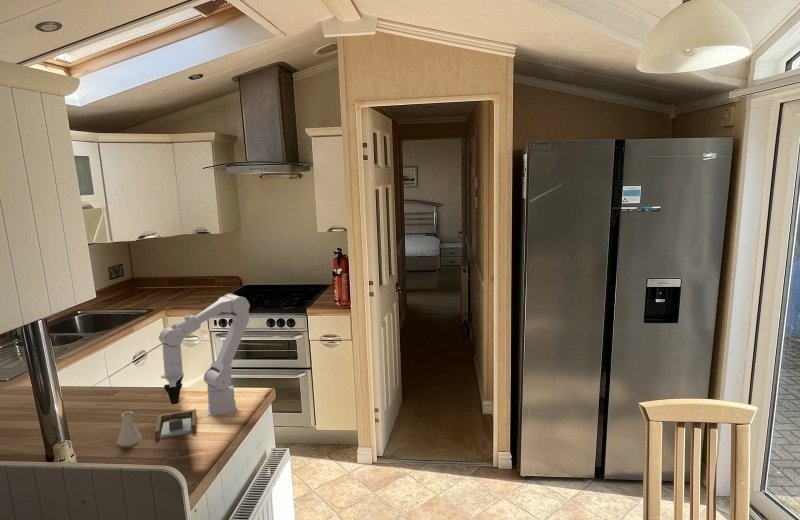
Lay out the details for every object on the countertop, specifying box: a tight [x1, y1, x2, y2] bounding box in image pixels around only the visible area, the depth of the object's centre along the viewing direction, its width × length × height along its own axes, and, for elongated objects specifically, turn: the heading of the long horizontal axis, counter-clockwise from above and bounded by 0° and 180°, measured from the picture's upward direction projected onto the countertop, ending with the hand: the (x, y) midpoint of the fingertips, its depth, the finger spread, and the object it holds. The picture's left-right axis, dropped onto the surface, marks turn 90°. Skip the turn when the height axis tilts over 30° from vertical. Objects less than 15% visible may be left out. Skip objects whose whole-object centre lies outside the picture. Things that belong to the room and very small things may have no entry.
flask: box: [115, 411, 143, 448], centre depth 161 cm, size 7×7×10 cm
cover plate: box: [161, 418, 192, 439], centre depth 170 cm, size 9×10×4 cm
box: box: [154, 408, 198, 440], centre depth 171 cm, size 12×13×3 cm
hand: (175, 399), depth 173 cm, fingers open, 7 cm apart
